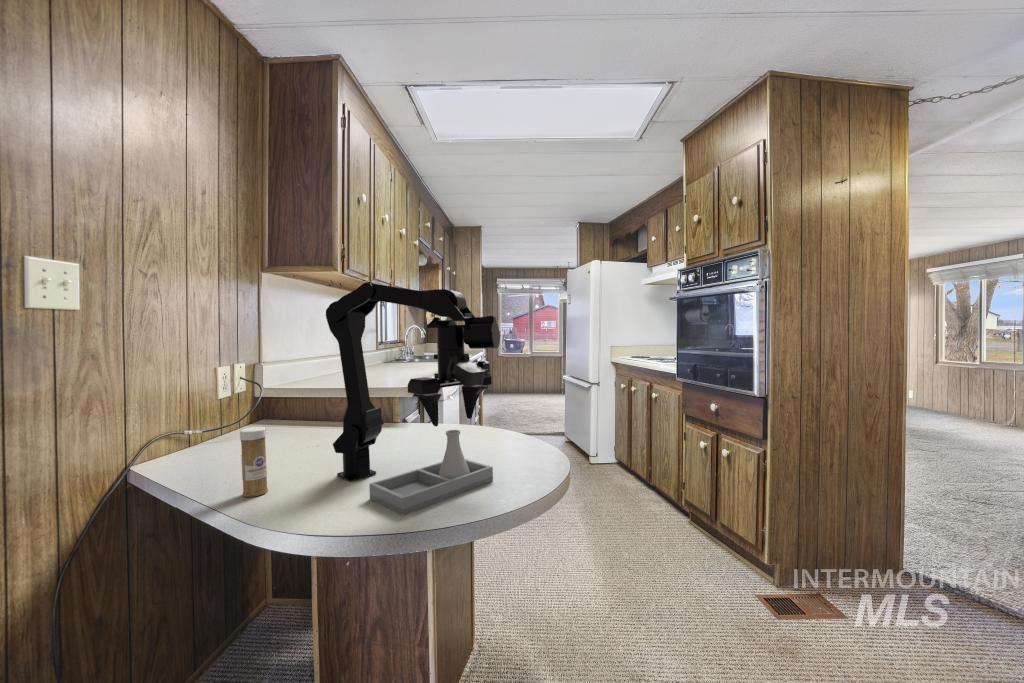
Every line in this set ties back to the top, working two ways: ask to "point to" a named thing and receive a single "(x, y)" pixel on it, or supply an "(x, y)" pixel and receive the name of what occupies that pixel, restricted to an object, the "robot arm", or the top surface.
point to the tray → (426, 486)
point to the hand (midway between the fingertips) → (453, 422)
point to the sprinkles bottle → (254, 461)
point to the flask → (453, 458)
